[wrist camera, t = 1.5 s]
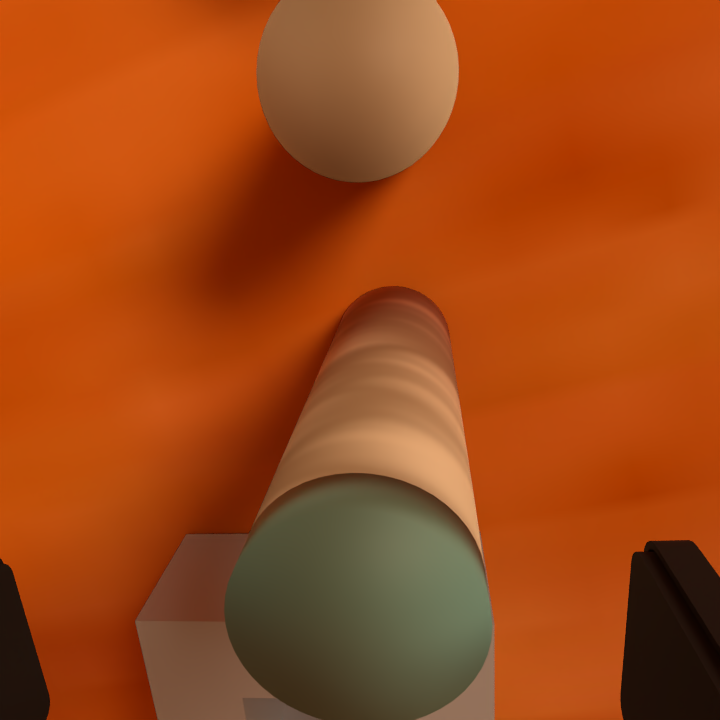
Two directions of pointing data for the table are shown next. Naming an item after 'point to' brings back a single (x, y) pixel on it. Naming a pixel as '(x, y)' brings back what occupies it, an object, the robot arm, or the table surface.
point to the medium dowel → (357, 83)
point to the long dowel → (369, 532)
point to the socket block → (215, 652)
